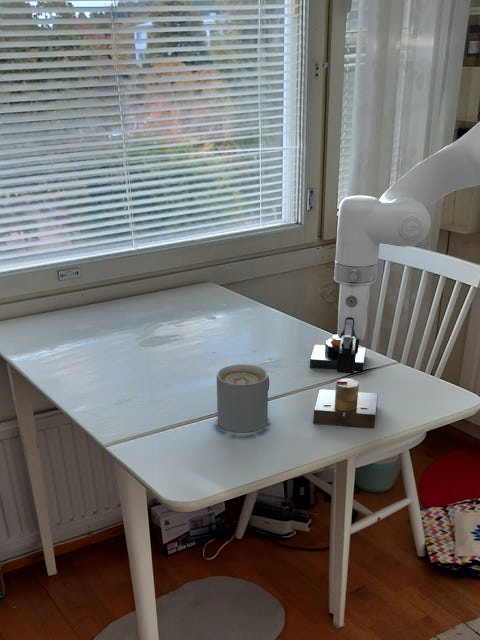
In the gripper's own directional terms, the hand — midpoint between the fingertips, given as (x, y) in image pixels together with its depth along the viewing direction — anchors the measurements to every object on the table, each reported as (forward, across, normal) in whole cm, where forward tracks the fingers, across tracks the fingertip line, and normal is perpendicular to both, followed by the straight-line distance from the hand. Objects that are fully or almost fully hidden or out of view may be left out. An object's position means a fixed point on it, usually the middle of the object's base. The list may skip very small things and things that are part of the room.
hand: (347, 362), depth 149 cm
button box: (+12, +30, +4) cm, 32 cm away
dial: (+9, 0, 0) cm, 9 cm away
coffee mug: (+13, -2, +19) cm, 23 cm away
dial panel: (+12, +3, 0) cm, 12 cm away
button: (+9, +32, +4) cm, 33 cm away
